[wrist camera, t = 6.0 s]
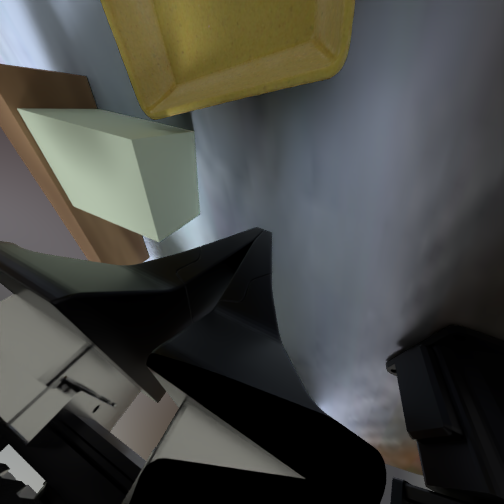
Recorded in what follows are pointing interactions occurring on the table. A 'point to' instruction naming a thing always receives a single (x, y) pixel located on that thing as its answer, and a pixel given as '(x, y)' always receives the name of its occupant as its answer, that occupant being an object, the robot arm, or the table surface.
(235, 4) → the yellow tray
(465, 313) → the table surface
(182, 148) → the block
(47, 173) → the board
